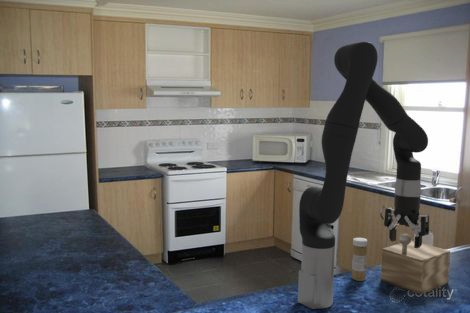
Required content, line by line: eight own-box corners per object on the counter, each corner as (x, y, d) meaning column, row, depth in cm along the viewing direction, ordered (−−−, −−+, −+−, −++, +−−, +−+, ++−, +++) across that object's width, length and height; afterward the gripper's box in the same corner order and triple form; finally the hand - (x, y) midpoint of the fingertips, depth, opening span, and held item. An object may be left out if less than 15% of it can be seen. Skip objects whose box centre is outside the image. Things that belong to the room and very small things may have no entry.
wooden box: (419, 294, 142) (421, 262, 141) (380, 280, 154) (382, 250, 153) (448, 283, 152) (450, 253, 151) (409, 270, 163) (411, 242, 162)
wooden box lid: (421, 262, 141) (422, 240, 140) (381, 250, 152) (382, 229, 152) (450, 252, 151) (451, 231, 150) (411, 242, 162) (412, 222, 161)
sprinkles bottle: (357, 275, 158) (358, 236, 156) (368, 279, 154) (370, 239, 153) (348, 278, 155) (350, 238, 153) (360, 282, 151) (362, 241, 150)
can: (411, 264, 170) (413, 231, 169) (413, 258, 176) (415, 227, 174) (430, 267, 167) (432, 234, 166) (432, 261, 173) (434, 229, 171)
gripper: (380, 191, 149) (378, 240, 151) (421, 198, 138) (418, 252, 140) (394, 188, 154) (392, 237, 155) (435, 195, 142) (432, 247, 144)
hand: (404, 244), depth 147 cm, fingers open, 8 cm apart
